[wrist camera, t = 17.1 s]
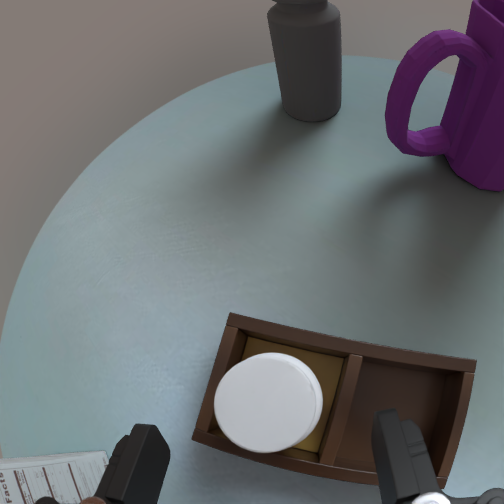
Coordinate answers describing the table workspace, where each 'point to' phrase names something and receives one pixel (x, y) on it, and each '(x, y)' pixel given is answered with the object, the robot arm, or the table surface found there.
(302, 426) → the pill bottle
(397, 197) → the table surface
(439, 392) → the divided wooden box
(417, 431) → the robot arm
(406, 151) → the mug
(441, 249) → the table surface
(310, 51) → the bottle
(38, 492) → the white packaging box
